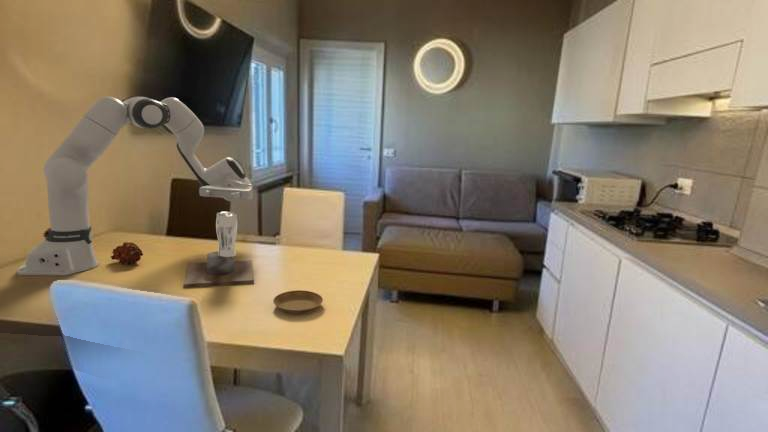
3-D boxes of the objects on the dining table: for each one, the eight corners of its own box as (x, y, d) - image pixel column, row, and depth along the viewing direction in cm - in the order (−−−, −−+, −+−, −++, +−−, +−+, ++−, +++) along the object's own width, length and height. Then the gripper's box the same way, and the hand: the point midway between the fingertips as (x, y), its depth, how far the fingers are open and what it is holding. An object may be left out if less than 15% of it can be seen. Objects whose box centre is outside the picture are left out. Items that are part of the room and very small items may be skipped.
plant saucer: (332, 308, 132) (332, 300, 132) (293, 323, 121) (293, 314, 121) (302, 294, 142) (302, 286, 141) (263, 306, 131) (263, 298, 130)
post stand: (183, 287, 141) (182, 266, 139) (189, 265, 161) (189, 247, 160) (254, 283, 148) (253, 263, 146) (251, 263, 168) (251, 245, 167)
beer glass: (240, 253, 156) (240, 212, 153) (232, 259, 150) (232, 216, 146) (221, 251, 157) (221, 210, 154) (212, 257, 150) (212, 214, 147)
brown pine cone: (140, 270, 158) (115, 269, 162) (153, 252, 164) (128, 252, 168) (125, 255, 152) (99, 255, 156) (139, 237, 158) (114, 237, 162)
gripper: (206, 181, 179) (192, 185, 166) (256, 184, 180) (245, 189, 166) (207, 196, 181) (192, 201, 167) (256, 199, 181) (245, 205, 167)
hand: (219, 195), depth 166 cm, fingers open, 8 cm apart
